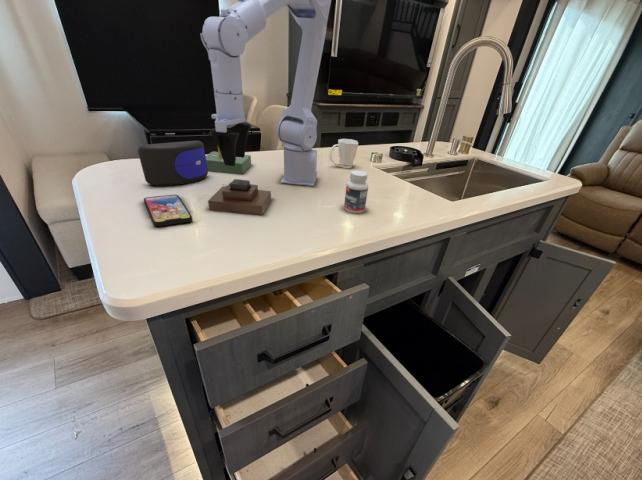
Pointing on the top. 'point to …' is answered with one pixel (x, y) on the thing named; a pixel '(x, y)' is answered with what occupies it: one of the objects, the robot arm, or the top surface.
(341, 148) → the cup
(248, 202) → the switch plate
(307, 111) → the robot arm
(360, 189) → the pill bottle
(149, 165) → the leaning round-cornered charcoal block
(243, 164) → the green flat block
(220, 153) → the dimmer knob
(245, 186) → the switch button
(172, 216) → the smartphone
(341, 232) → the top surface
